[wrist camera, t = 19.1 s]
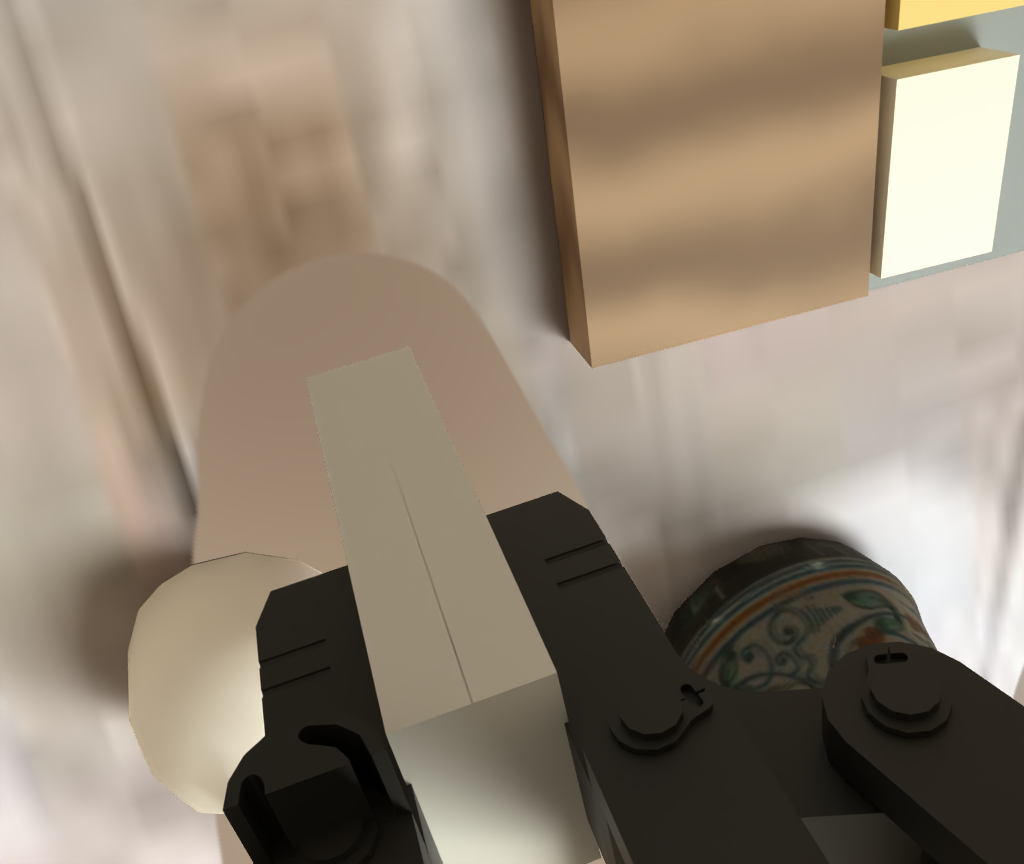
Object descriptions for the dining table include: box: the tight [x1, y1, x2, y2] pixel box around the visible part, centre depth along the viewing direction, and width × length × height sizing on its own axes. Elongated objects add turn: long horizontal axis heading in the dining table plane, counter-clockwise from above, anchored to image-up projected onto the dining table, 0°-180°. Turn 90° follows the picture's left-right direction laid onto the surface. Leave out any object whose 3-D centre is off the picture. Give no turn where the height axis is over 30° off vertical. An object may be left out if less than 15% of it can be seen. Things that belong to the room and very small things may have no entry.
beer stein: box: [665, 538, 937, 692], centre depth 50 cm, size 16×19×25 cm
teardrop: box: [128, 552, 323, 814], centre depth 44 cm, size 11×11×12 cm
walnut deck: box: [530, 0, 886, 368], centre depth 40 cm, size 22×14×3 cm, turn 8°
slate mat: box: [868, 5, 1024, 291], centre depth 43 cm, size 24×12×1 cm, turn 8°
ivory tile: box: [870, 47, 1020, 279], centre depth 44 cm, size 9×6×2 cm, turn 7°
